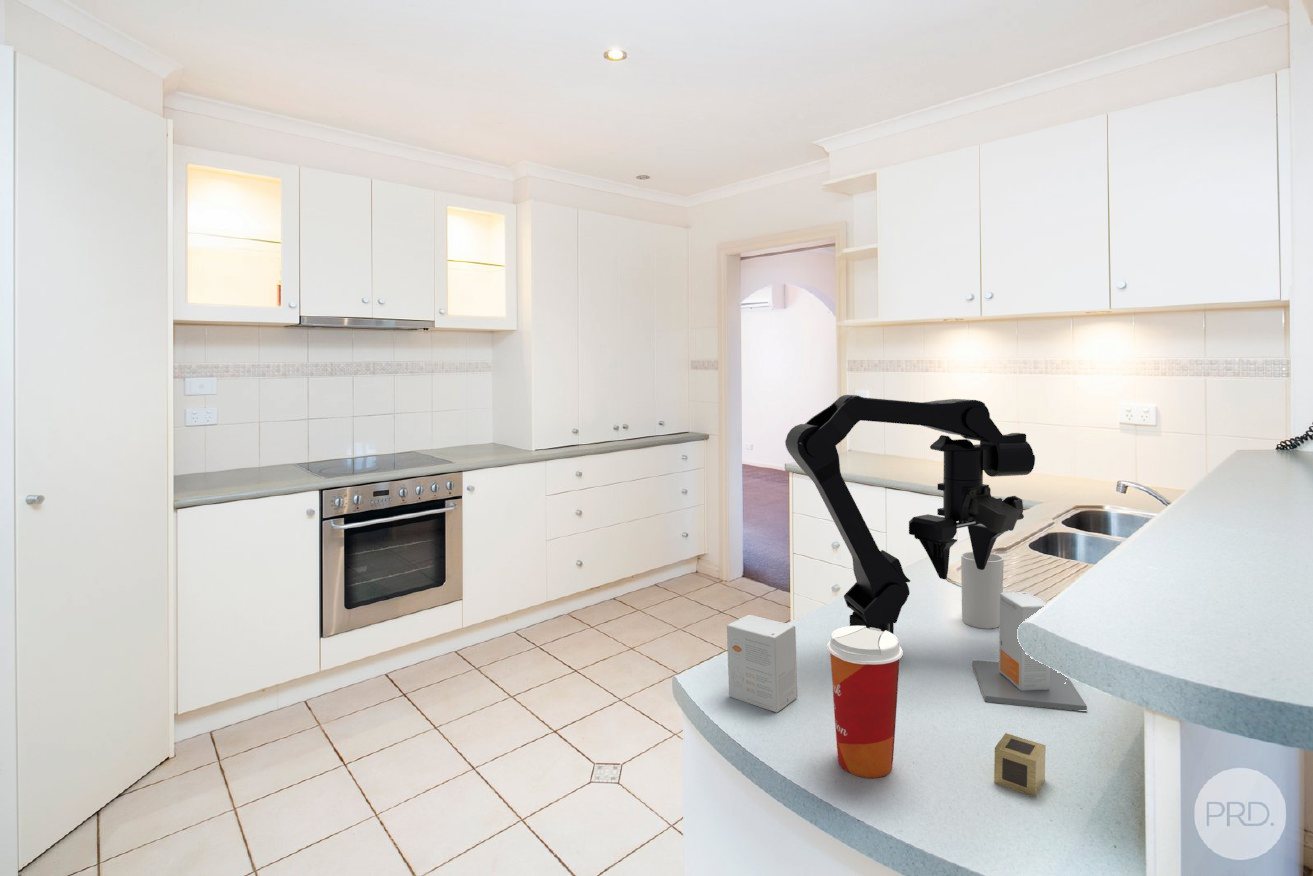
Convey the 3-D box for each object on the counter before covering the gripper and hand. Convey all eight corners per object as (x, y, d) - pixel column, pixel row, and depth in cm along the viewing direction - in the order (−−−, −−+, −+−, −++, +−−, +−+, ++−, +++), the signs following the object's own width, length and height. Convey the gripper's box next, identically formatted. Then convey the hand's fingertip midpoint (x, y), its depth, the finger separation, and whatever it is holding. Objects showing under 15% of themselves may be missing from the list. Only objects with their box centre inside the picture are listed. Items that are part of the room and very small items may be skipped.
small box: (798, 698, 93) (797, 625, 93) (776, 714, 89) (775, 637, 88) (750, 682, 99) (748, 613, 98) (727, 697, 95) (726, 624, 94)
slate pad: (1086, 712, 87) (1086, 706, 87) (985, 701, 91) (985, 695, 91) (1061, 672, 99) (1061, 667, 99) (972, 665, 102) (972, 659, 102)
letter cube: (1035, 797, 70) (1035, 761, 70) (994, 783, 73) (994, 748, 73) (1044, 780, 73) (1045, 745, 73) (1004, 767, 76) (1005, 733, 76)
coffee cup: (845, 736, 83) (844, 618, 82) (913, 758, 78) (913, 633, 77) (815, 768, 77) (813, 640, 76) (886, 794, 72) (886, 658, 70)
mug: (1006, 631, 115) (1007, 562, 114) (963, 628, 117) (963, 560, 116) (996, 611, 125) (996, 548, 124) (956, 608, 127) (957, 546, 126)
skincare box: (997, 672, 98) (998, 592, 97) (1026, 671, 98) (1028, 591, 97) (1020, 692, 92) (1021, 606, 91) (1051, 690, 92) (1053, 605, 91)
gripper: (969, 490, 96) (968, 598, 97) (1048, 478, 104) (1046, 576, 106) (906, 481, 105) (906, 579, 107) (983, 470, 114) (982, 560, 116)
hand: (962, 574), depth 108 cm, fingers open, 9 cm apart
